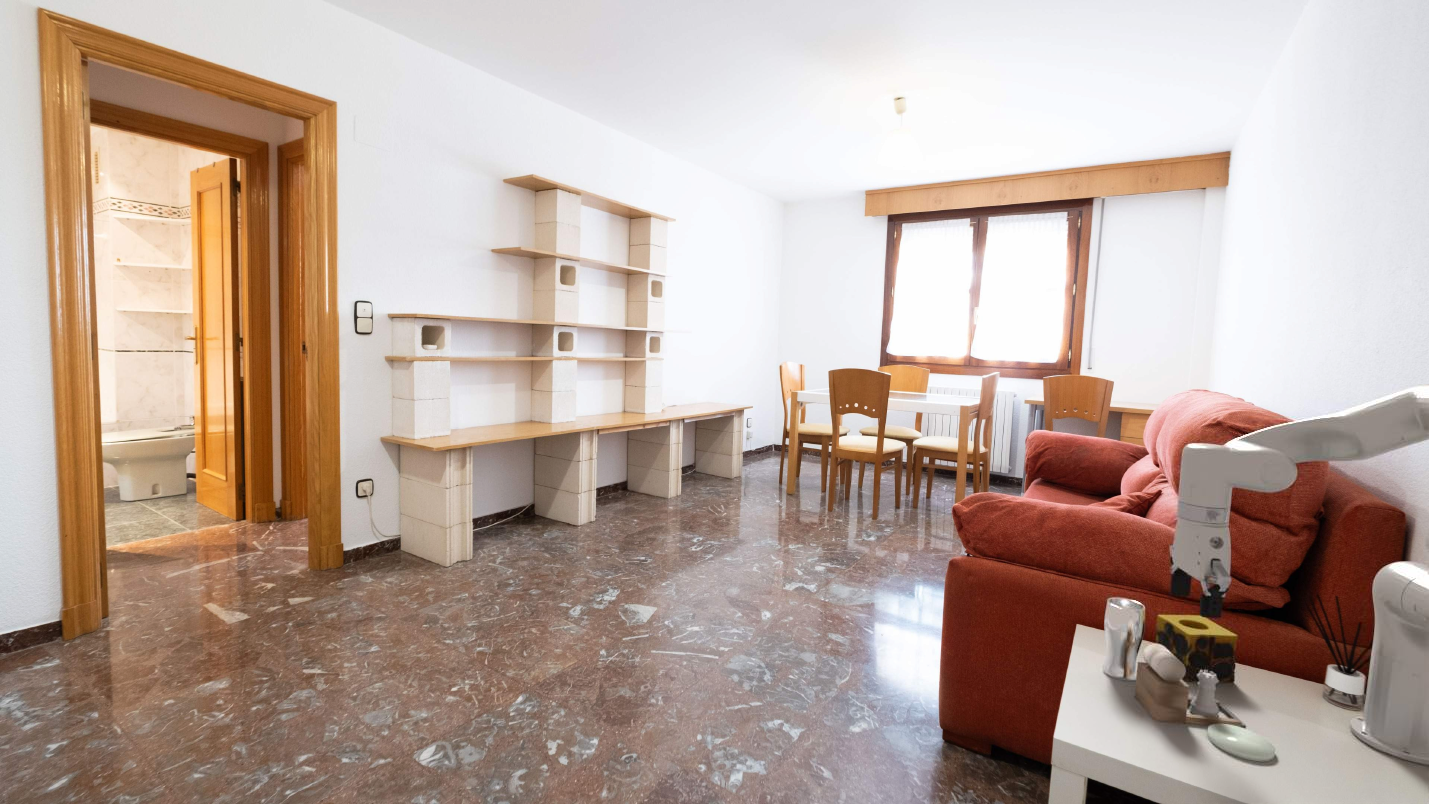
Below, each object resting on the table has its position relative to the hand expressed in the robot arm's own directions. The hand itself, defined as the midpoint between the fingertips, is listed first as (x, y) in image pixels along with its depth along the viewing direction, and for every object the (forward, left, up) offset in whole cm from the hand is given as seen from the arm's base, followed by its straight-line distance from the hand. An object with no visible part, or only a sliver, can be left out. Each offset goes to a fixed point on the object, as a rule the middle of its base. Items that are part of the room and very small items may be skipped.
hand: (1194, 605), depth 119 cm
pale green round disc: (-5, +8, -21) cm, 23 cm away
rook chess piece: (-4, -1, -21) cm, 21 cm away
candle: (-11, -19, -21) cm, 30 cm away
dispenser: (-1, -1, -21) cm, 21 cm away
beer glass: (+5, -14, -21) cm, 26 cm away
